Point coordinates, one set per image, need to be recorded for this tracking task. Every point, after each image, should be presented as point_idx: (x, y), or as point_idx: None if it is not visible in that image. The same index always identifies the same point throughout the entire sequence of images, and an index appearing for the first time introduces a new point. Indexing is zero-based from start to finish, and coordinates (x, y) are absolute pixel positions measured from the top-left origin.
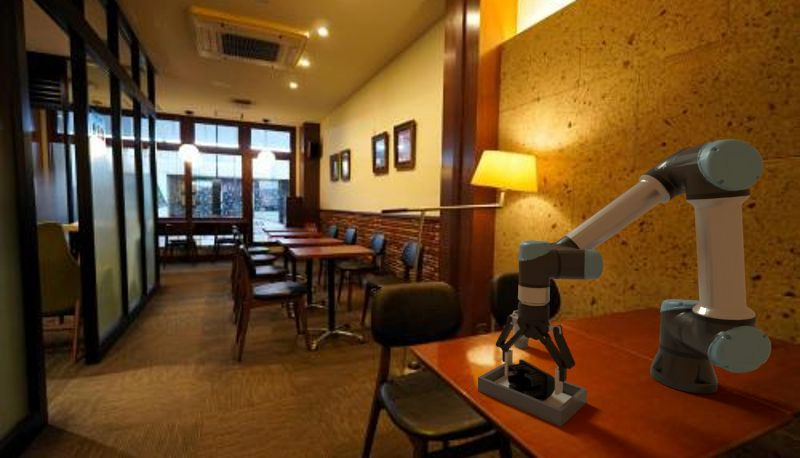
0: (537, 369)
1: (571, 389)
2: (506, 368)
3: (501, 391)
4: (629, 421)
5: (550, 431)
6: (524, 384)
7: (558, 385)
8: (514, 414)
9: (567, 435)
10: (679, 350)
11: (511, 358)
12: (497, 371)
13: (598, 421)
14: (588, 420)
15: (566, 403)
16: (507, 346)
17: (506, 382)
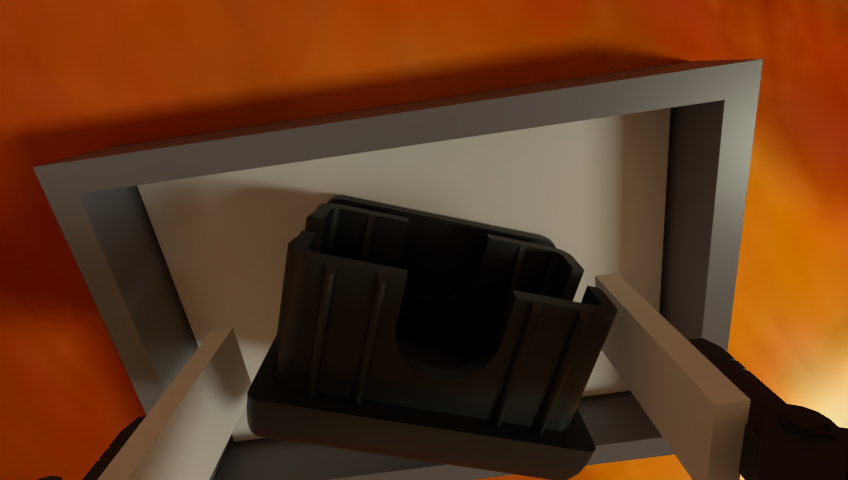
0: (366, 417)
1: (270, 465)
2: (630, 305)
3: (512, 92)
4: (26, 454)
5: (95, 53)
6: (464, 303)
7: (181, 378)
8: (340, 22)
9: (27, 104)
10: None
11: (658, 413)
12: (697, 294)
13: (76, 353)
14: (102, 324)
15: (104, 286)
16: (780, 476)
17: None
